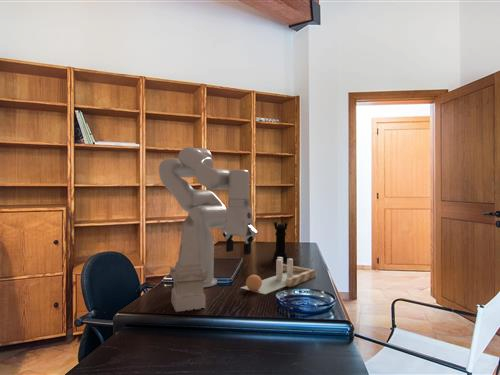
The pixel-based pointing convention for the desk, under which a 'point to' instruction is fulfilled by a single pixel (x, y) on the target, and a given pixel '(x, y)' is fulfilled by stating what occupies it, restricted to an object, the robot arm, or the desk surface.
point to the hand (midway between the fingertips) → (238, 252)
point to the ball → (254, 282)
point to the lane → (271, 284)
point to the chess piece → (280, 241)
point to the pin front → (278, 270)
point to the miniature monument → (188, 272)
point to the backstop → (299, 275)
